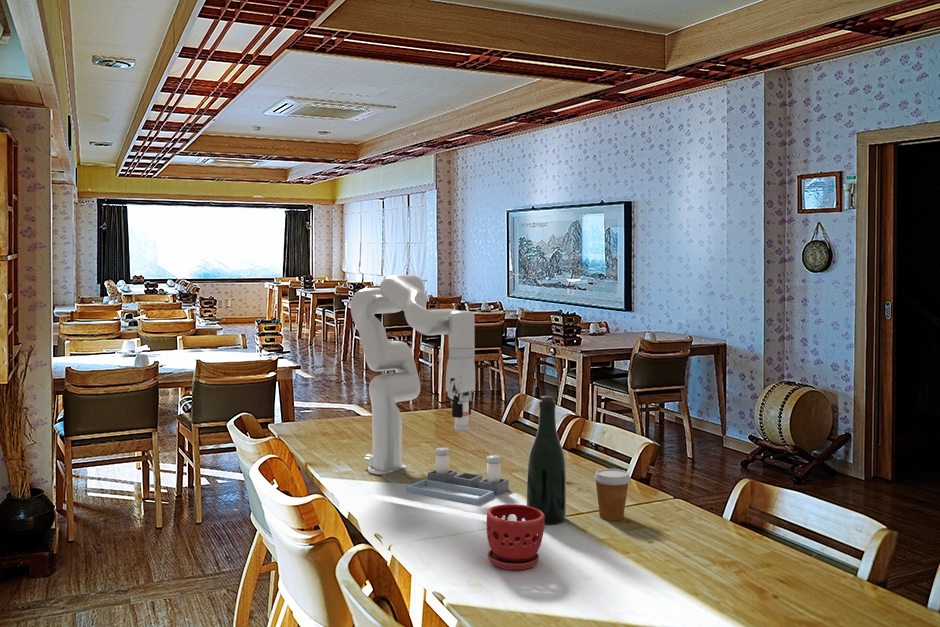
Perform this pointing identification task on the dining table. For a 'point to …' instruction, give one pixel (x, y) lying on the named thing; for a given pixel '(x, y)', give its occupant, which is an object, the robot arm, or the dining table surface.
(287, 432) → the dining table surface
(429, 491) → the parts tray
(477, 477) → the fuse holder
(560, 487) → the green wine bottle
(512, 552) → the plant pot
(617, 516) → the disposable coffee cup
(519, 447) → the dining table surface
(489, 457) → the fuse
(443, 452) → the ball
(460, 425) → the cylinder
